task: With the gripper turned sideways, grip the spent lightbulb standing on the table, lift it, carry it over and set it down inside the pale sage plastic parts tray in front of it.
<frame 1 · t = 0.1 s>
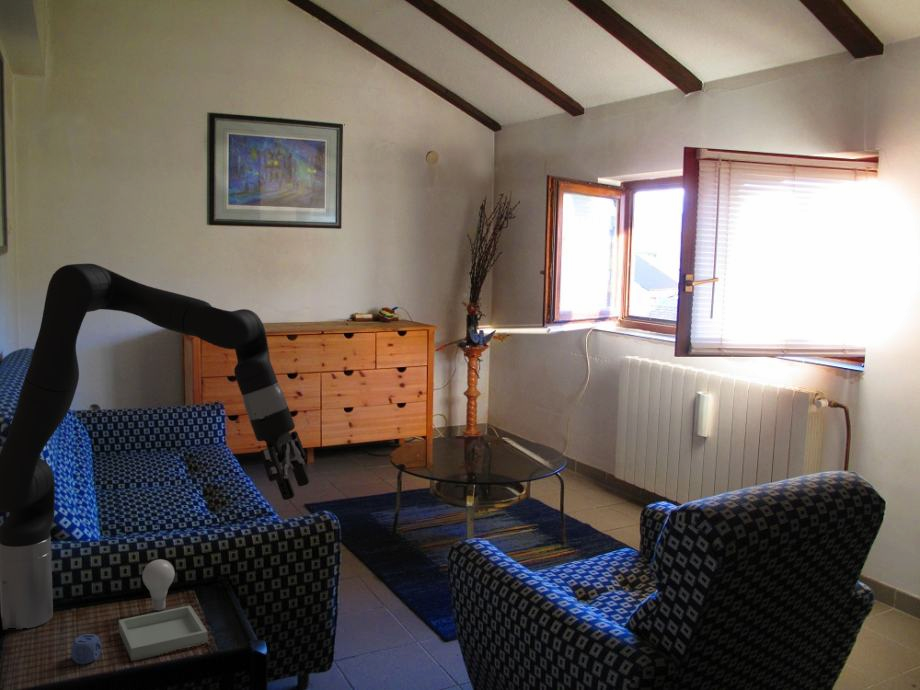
hand: (297, 491, 157), 31 cm above the table, tool tilted 20°, fingers open, 8 cm apart
parts tray: (162, 637, 163), on the table
lightbulb: (159, 611, 174), on the table
decorative dice: (86, 659, 154), on the table
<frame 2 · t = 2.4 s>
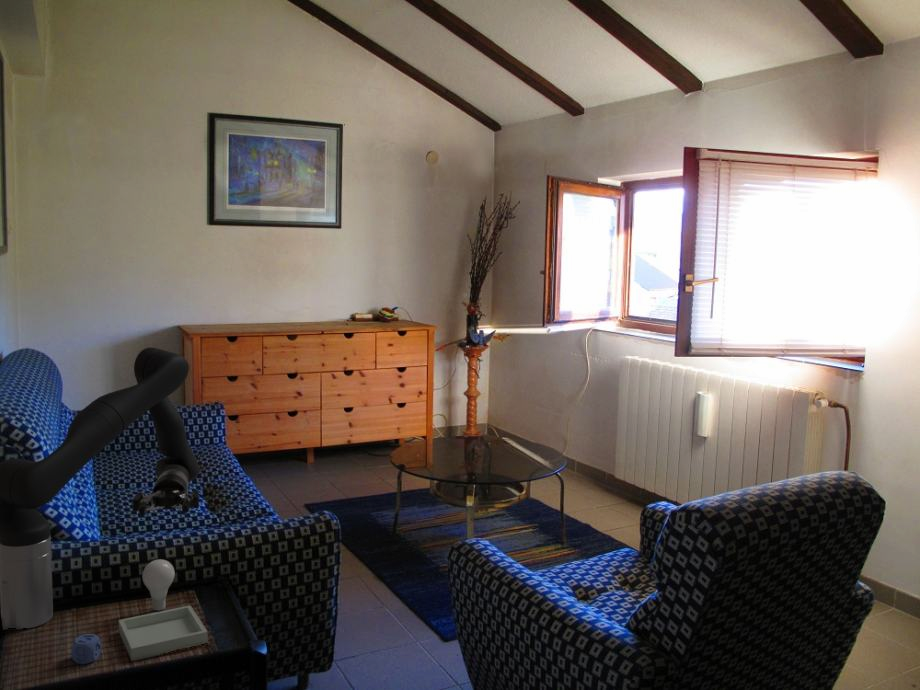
hand: (163, 511, 182), 18 cm above the table, tool horizontal, fingers open, 8 cm apart
nothing on the table moved.
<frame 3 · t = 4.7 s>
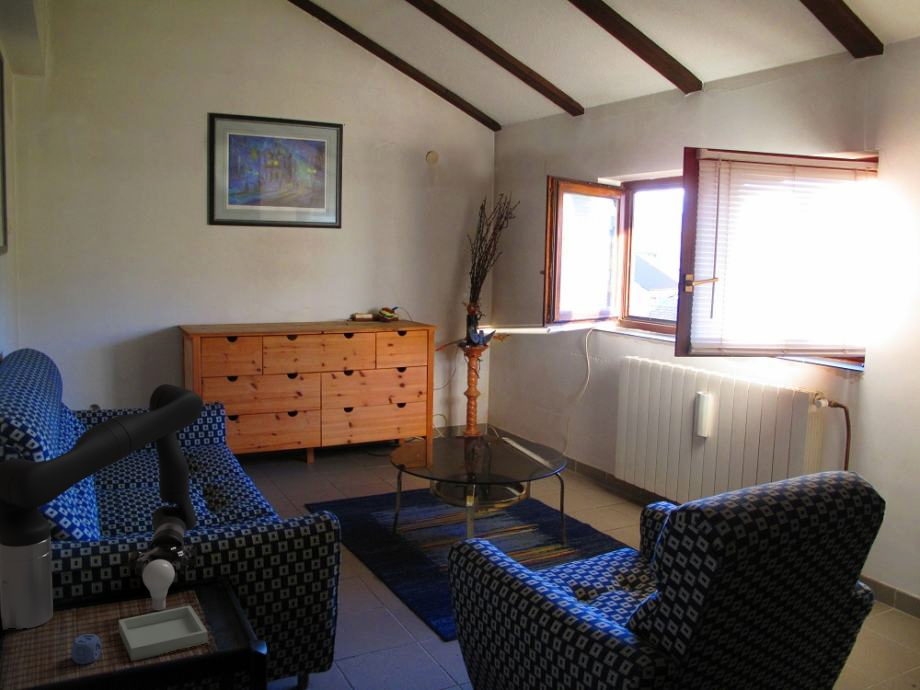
hand: (161, 571, 178), 7 cm above the table, tool horizontal, fingers open, 8 cm apart
nothing on the table moved.
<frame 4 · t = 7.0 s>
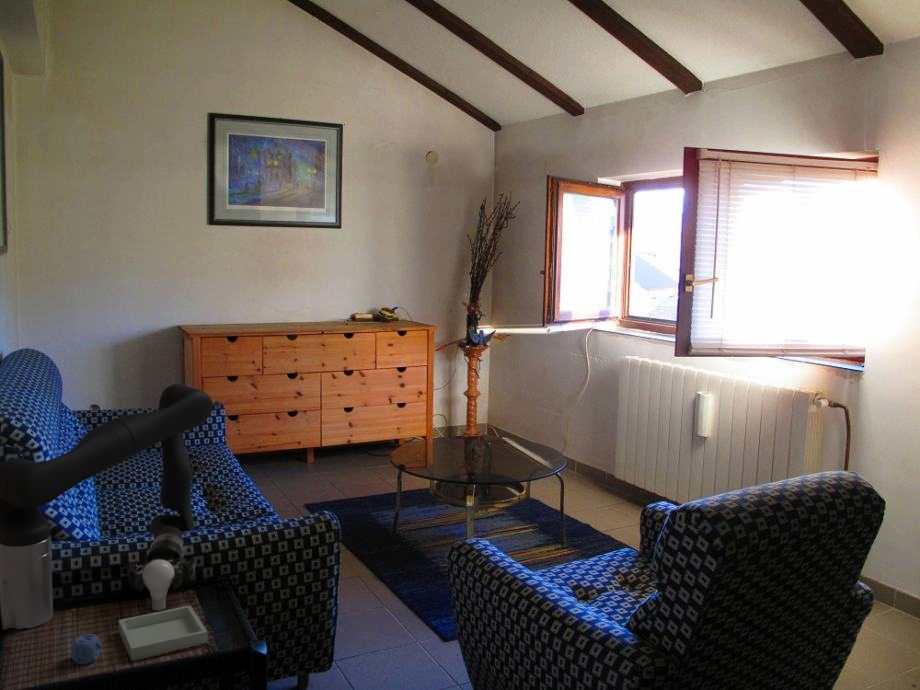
hand: (157, 585, 171), 7 cm above the table, tool horizontal, fingers closed on lightbulb, 6 cm apart
lightbulb: (159, 611, 174), on the table, touching gripper
everything else where it was.
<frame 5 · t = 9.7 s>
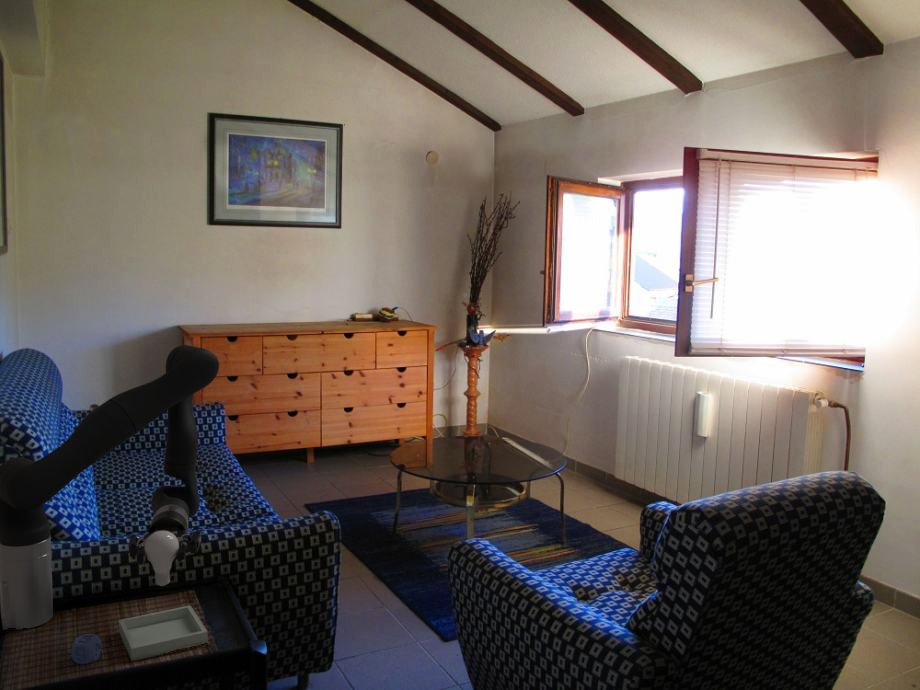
hand: (160, 558, 158), 17 cm above the table, tool horizontal, fingers closed on lightbulb, 6 cm apart
lightbulb: (162, 586, 161), point 11 cm above the table, touching gripper
everything else where it was.
when the fingers open (8 cm above the table, at t = 12.3 s): lightbulb stays where it is, resting on parts tray.
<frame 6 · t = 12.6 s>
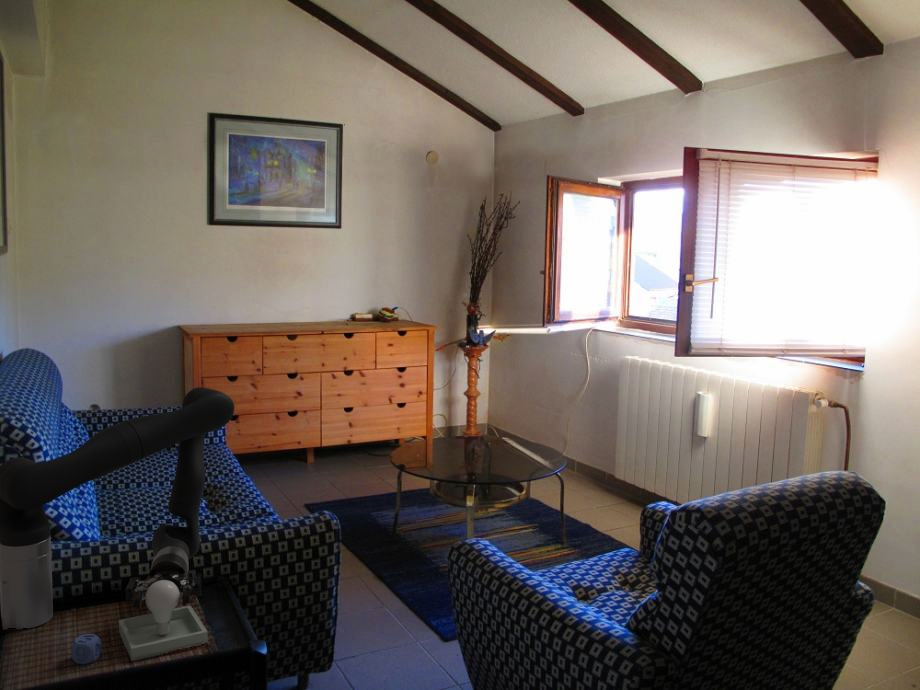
hand: (161, 603, 160), 8 cm above the table, tool horizontal, fingers open, 8 cm apart
lightbulb: (163, 635, 163), resting on parts tray
everything else where it was.
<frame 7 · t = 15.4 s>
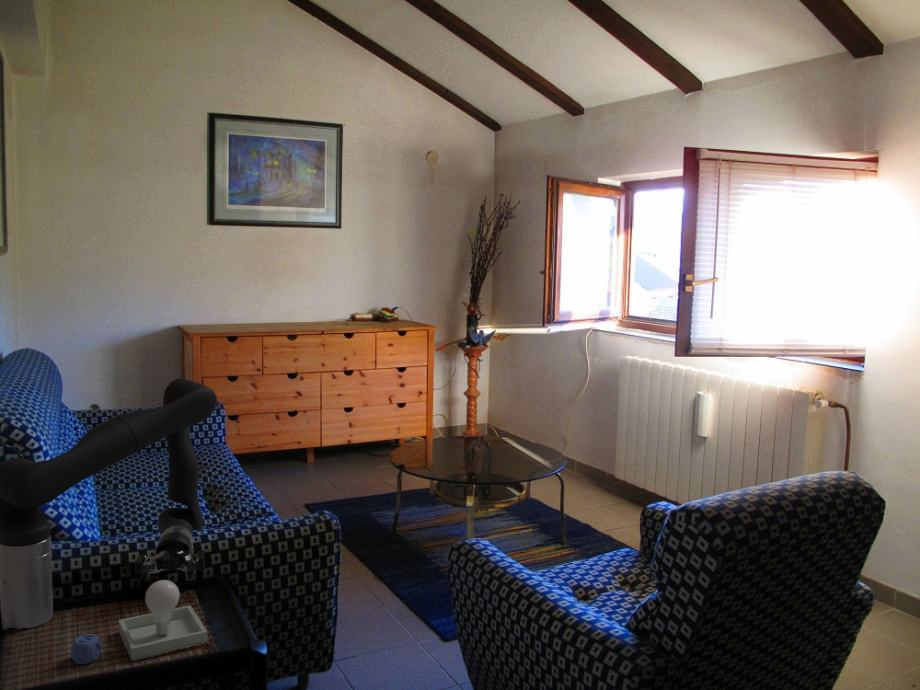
hand: (167, 576, 172), 8 cm above the table, tool horizontal, fingers open, 8 cm apart
nothing on the table moved.
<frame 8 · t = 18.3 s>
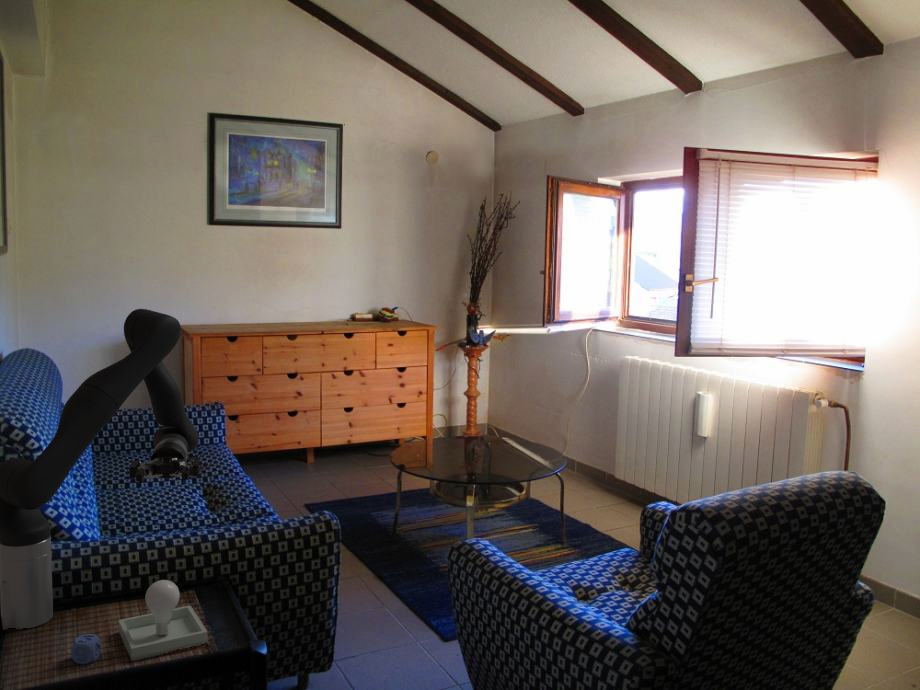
hand: (161, 478, 173), 28 cm above the table, tool horizontal, fingers open, 8 cm apart
nothing on the table moved.
at the end: lightbulb inside the target area on the parts tray (0.1 cm from its centre), point 0.4 cm above the parts tray's base; the gripper is holding nothing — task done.
